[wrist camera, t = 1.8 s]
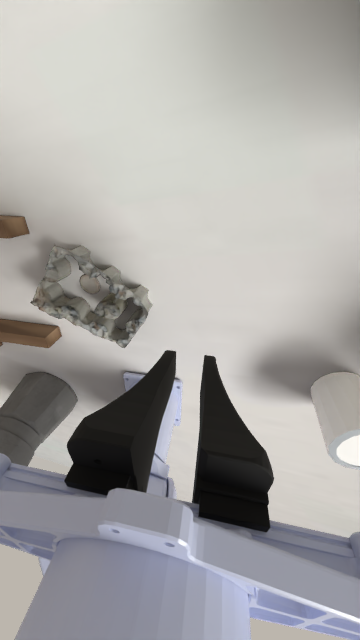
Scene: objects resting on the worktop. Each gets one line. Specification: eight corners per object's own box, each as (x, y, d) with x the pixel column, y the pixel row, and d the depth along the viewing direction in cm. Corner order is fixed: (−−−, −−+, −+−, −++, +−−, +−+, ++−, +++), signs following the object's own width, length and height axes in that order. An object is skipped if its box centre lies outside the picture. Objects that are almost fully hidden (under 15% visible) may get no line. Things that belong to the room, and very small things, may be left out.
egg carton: (51, 285, 25) (23, 301, 21) (74, 230, 21) (44, 238, 17) (129, 339, 27) (115, 361, 23) (163, 297, 23) (152, 316, 19)
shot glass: (312, 413, 28) (336, 474, 22) (297, 376, 25) (320, 434, 19) (377, 402, 25) (424, 469, 19) (368, 360, 22) (420, 422, 17)
